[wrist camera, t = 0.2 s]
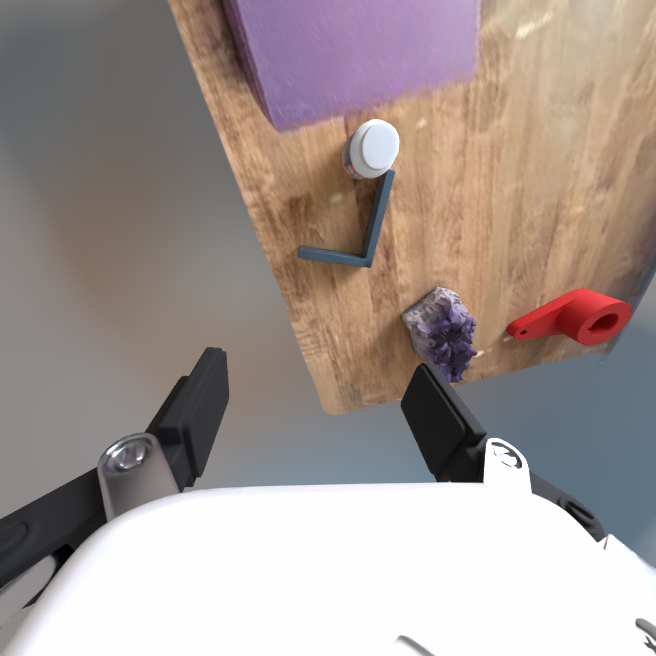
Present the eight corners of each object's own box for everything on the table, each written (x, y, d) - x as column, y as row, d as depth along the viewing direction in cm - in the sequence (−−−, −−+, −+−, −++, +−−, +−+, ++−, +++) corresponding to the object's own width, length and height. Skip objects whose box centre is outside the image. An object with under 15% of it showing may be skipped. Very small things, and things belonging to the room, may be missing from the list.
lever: (598, 282, 46) (639, 294, 41) (587, 319, 51) (622, 335, 46) (507, 312, 48) (535, 328, 43) (505, 346, 53) (529, 364, 47)
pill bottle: (339, 178, 33) (352, 174, 25) (343, 130, 31) (358, 108, 22) (375, 181, 34) (399, 179, 26) (382, 134, 31) (412, 114, 23)
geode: (469, 349, 53) (494, 384, 45) (418, 365, 56) (433, 400, 48) (455, 275, 42) (484, 303, 34) (393, 299, 45) (407, 330, 37)
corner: (307, 155, 32) (308, 151, 29) (388, 172, 33) (395, 170, 31) (298, 252, 38) (298, 257, 35) (366, 262, 40) (370, 267, 37)
